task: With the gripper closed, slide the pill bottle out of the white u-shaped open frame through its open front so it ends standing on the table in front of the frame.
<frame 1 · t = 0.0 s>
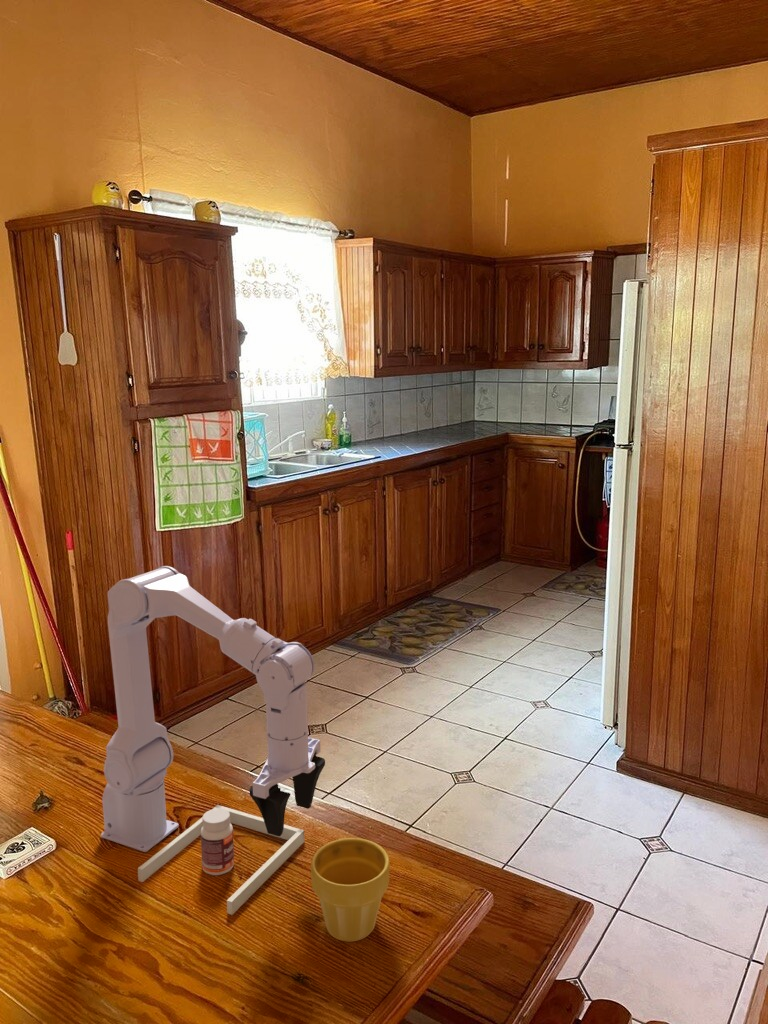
hand: (289, 819, 114), 10 cm above the table, tool pointing down, fingers open, 7 cm apart
plant pot: (351, 926, 107), on the table
white u-shaped open frame: (224, 860, 121), on the table
pill bottle: (218, 867, 120), on the table
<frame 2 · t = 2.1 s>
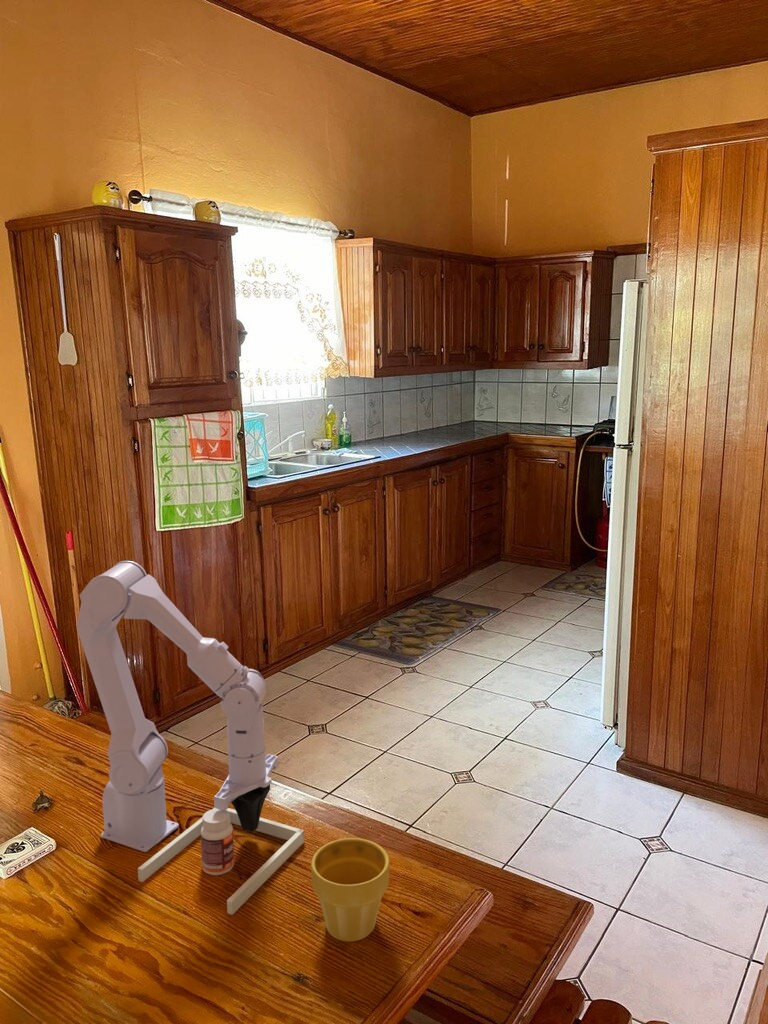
hand: (249, 828, 127), 2 cm above the table, tool pointing down, fingers closed
nothing on the table moved.
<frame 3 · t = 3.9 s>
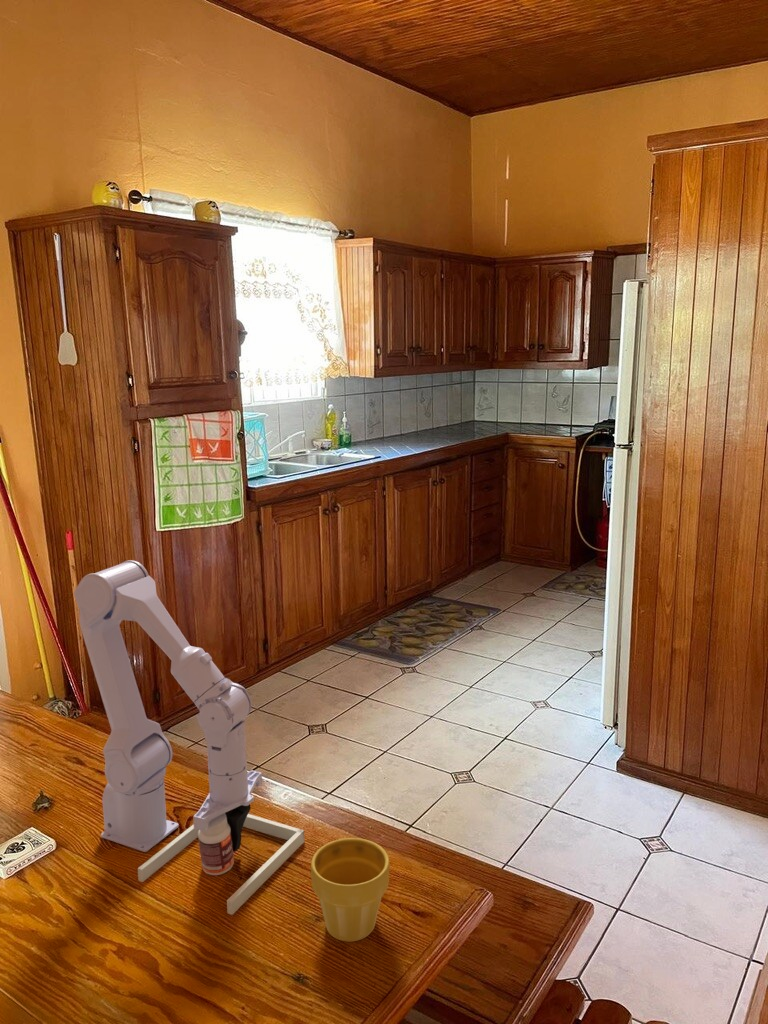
hand: (232, 848, 122), 1 cm above the table, tool pointing down, fingers closed, pressing on pill bottle
pill bottle: (218, 865, 120), on the table, touching gripper
everything else where it was.
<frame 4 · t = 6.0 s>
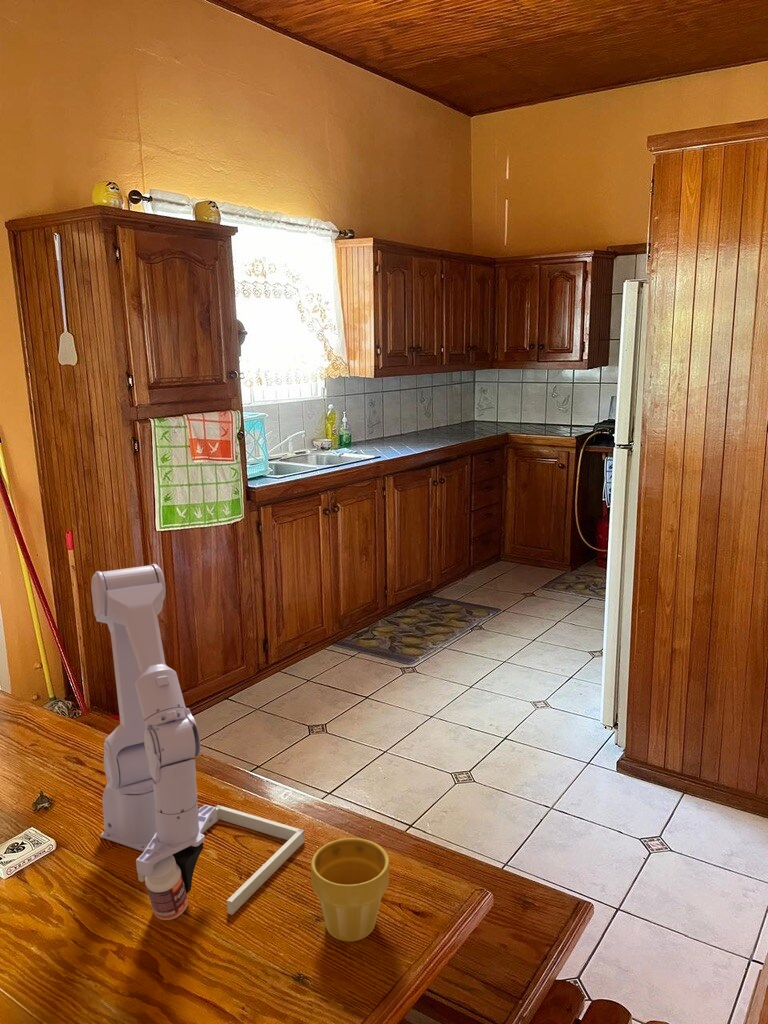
hand: (182, 891, 112), 1 cm above the table, tool pointing down, fingers closed, pressing on pill bottle
pill bottle: (171, 906, 110), on the table, touching gripper
everything else where it was.
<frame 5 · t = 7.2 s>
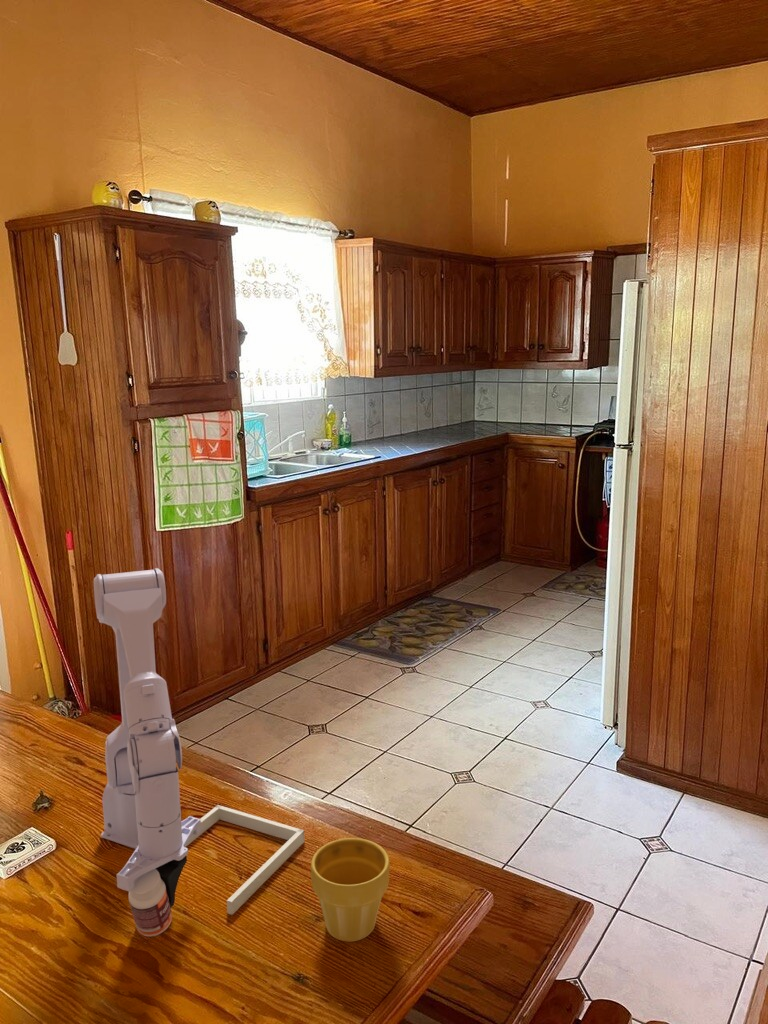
hand: (164, 905, 109), 1 cm above the table, tool pointing down, fingers closed, pressing on pill bottle
pill bottle: (154, 922, 108), on the table, touching gripper
everything else where it was.
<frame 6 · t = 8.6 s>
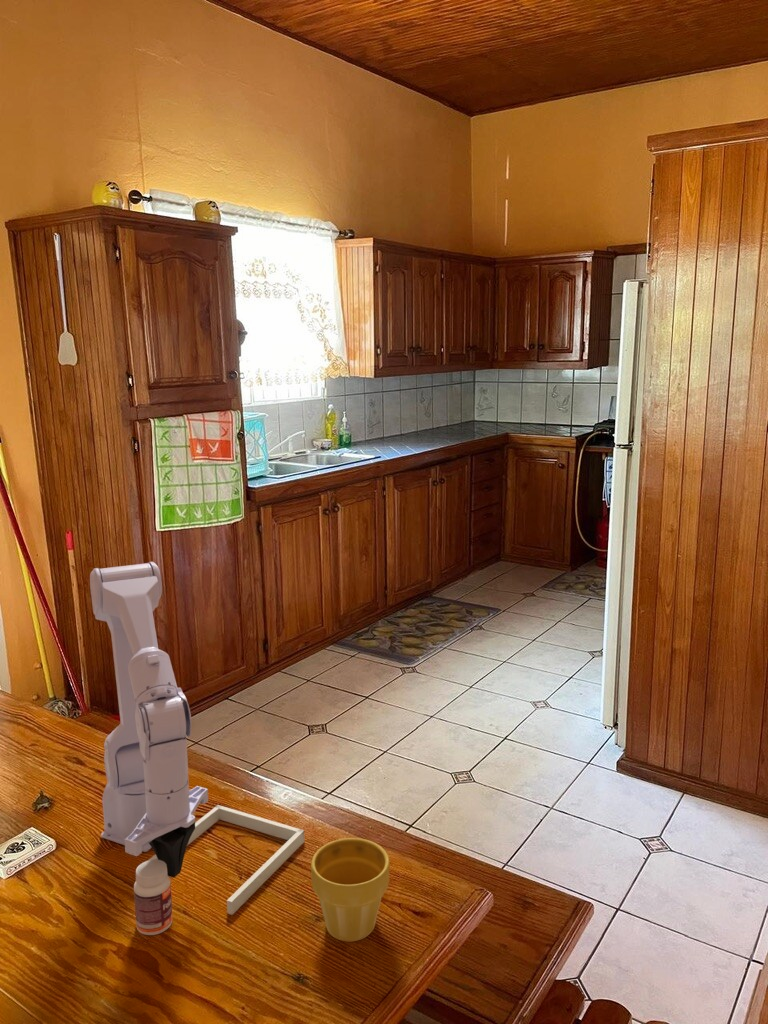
hand: (171, 873, 110), 5 cm above the table, tool pointing down, fingers closed
pill bottle: (154, 925, 108), on the table
everything else where it was.
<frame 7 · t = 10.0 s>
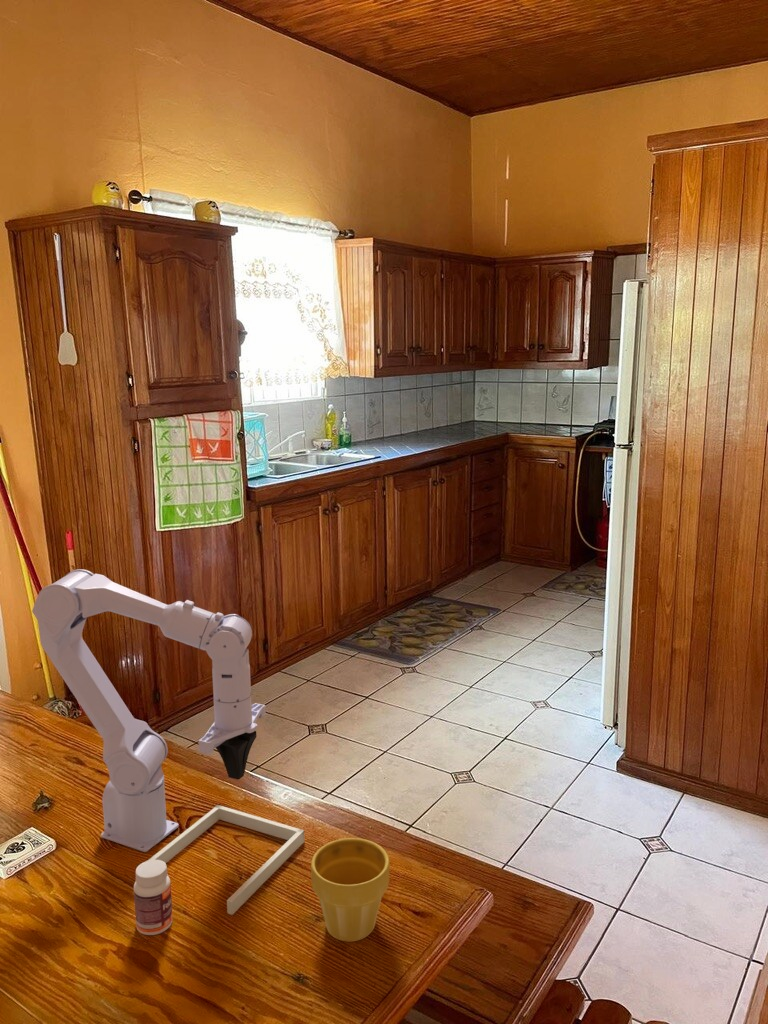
hand: (236, 776, 125), 10 cm above the table, tool pointing down, fingers closed
nothing on the table moved.
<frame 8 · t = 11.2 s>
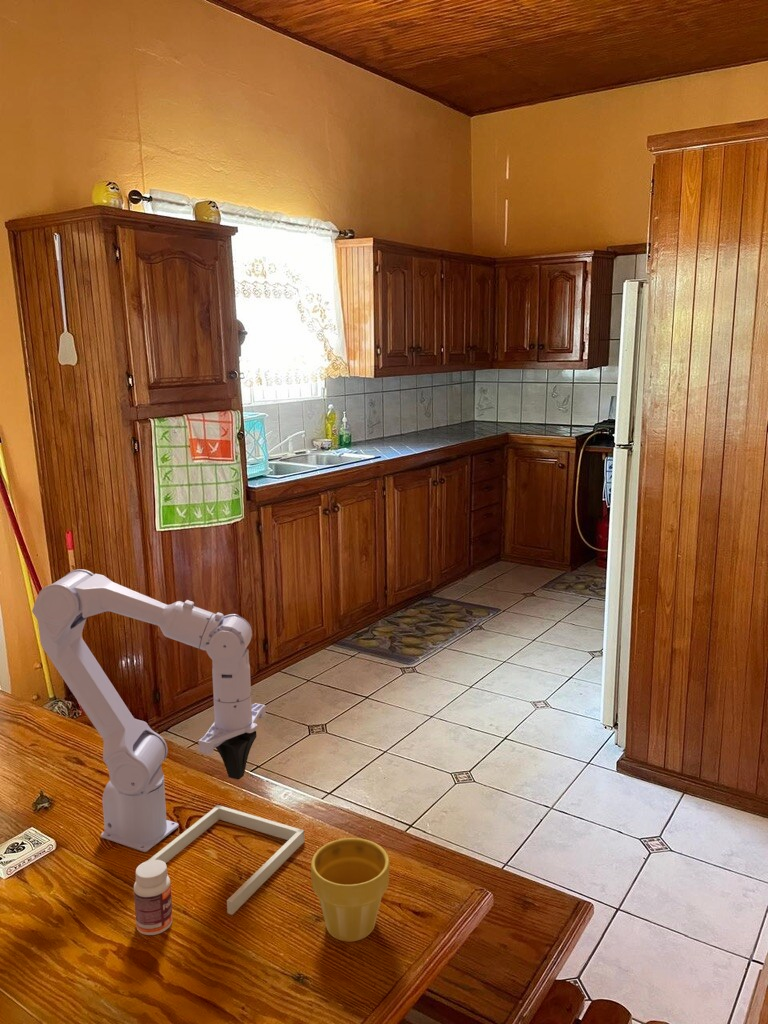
hand: (236, 776, 125), 10 cm above the table, tool pointing down, fingers closed
nothing on the table moved.
at the end: pill bottle inside the target area (0.1 cm from its centre), on the table; pill bottle tilted 0°; pill bottle moved 13.9 cm from its start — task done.
